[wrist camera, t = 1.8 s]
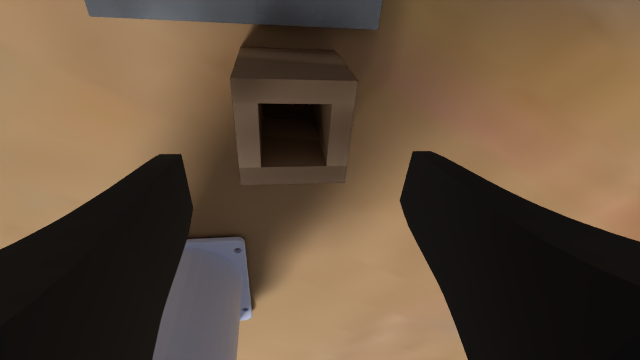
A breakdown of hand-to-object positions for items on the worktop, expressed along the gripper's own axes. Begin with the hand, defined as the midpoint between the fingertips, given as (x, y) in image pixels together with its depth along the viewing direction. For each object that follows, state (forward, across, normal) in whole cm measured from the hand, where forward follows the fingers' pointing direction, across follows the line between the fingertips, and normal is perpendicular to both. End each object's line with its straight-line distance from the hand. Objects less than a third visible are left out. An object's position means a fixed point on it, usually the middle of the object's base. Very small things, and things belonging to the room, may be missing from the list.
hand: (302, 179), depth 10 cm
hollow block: (+8, 0, 0) cm, 8 cm away
